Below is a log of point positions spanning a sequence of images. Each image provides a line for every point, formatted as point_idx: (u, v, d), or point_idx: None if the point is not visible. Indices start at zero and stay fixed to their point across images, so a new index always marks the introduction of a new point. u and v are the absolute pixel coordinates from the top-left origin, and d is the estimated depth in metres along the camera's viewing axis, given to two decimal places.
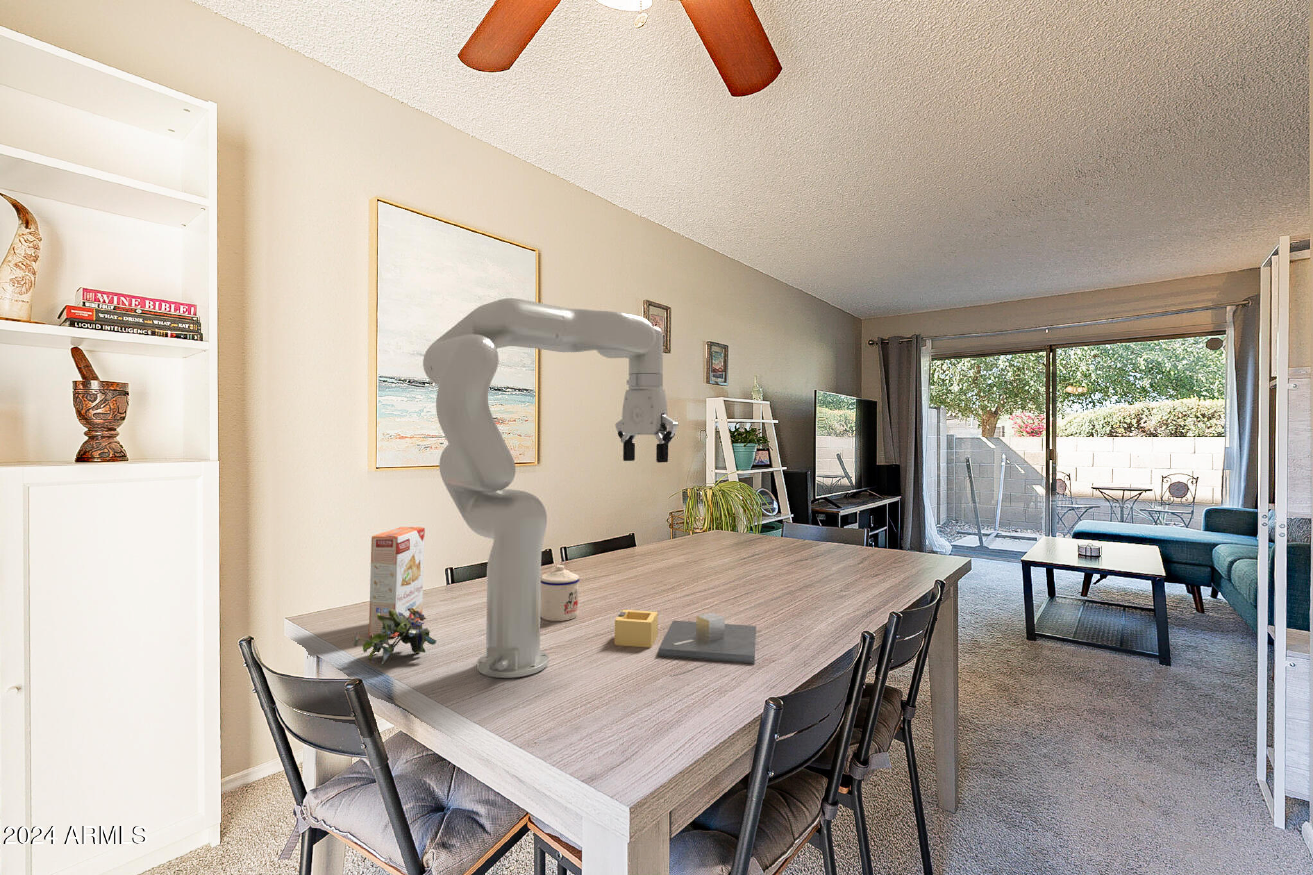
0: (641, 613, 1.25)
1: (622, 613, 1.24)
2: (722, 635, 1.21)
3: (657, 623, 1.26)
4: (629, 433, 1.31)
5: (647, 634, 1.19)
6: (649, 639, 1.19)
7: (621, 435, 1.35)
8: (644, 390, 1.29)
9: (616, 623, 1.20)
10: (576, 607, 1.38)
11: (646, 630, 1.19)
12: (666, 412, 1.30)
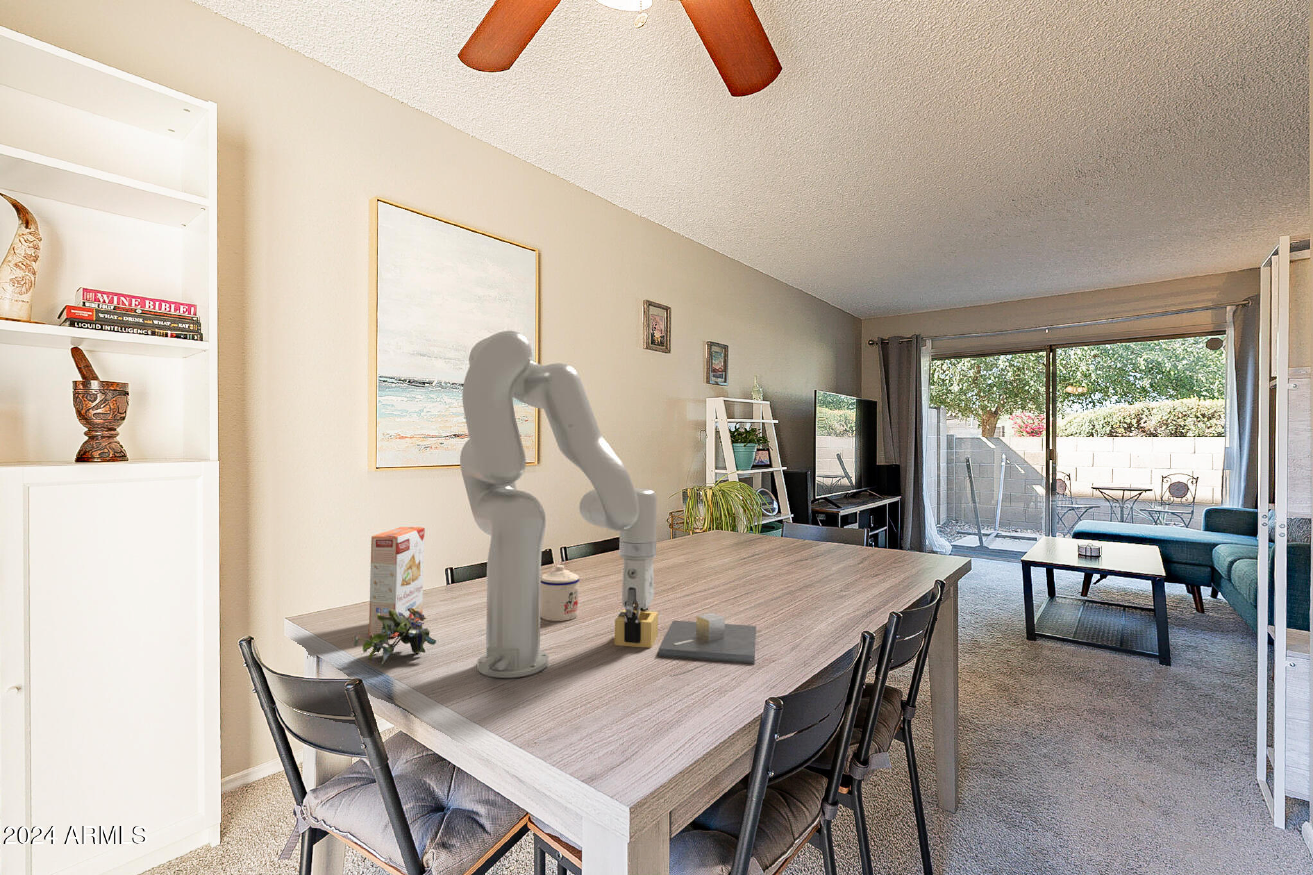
0: (641, 613, 1.25)
1: (622, 613, 1.24)
2: (722, 635, 1.21)
3: (657, 623, 1.26)
4: (647, 606, 1.20)
5: (647, 634, 1.19)
6: (649, 639, 1.19)
7: (634, 615, 1.17)
8: None
9: (616, 623, 1.20)
10: (576, 607, 1.38)
11: (646, 630, 1.19)
12: None
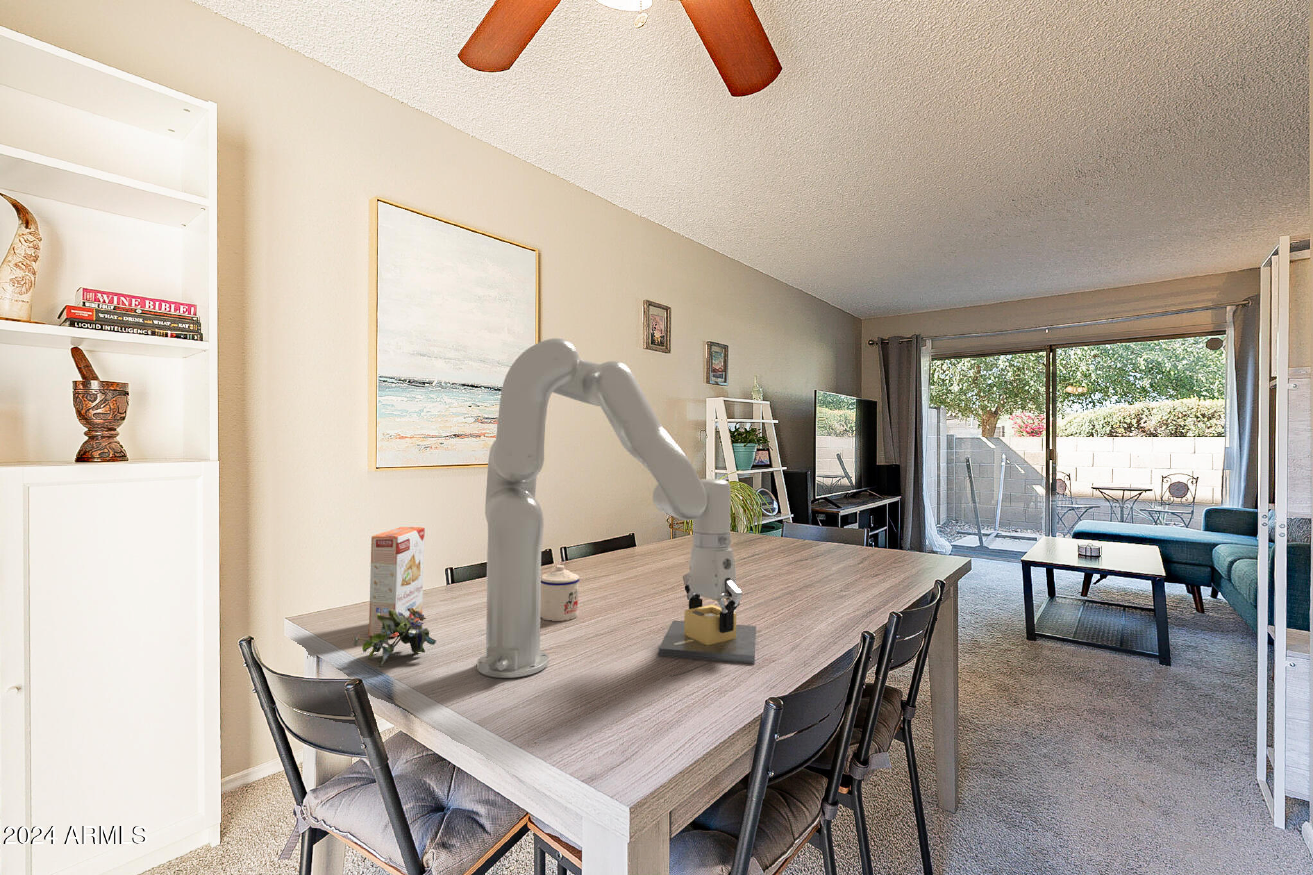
0: (704, 609, 1.24)
1: (698, 612, 1.20)
2: None
3: None
4: None
5: None
6: (735, 630, 1.20)
7: None
8: None
9: (709, 622, 1.16)
10: (576, 607, 1.38)
11: None
12: None
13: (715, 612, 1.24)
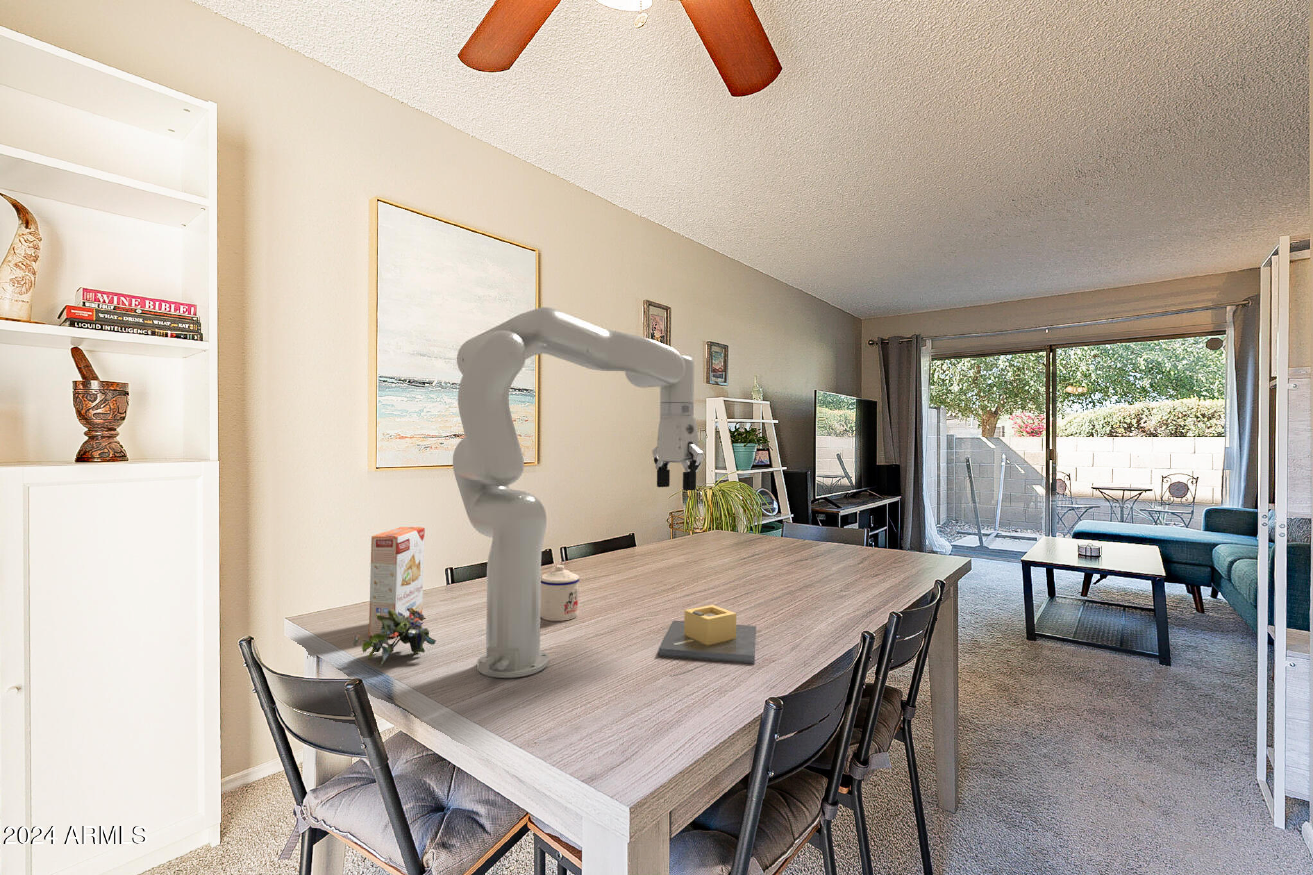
0: (704, 609, 1.24)
1: (698, 612, 1.20)
2: None
3: None
4: None
5: (733, 626, 1.20)
6: (735, 630, 1.20)
7: None
8: None
9: (709, 622, 1.16)
10: (576, 607, 1.38)
11: (732, 622, 1.20)
12: None
13: (715, 612, 1.24)
